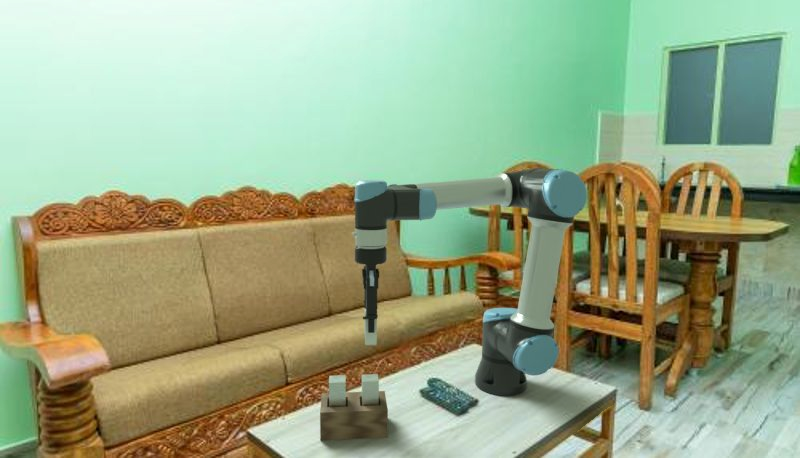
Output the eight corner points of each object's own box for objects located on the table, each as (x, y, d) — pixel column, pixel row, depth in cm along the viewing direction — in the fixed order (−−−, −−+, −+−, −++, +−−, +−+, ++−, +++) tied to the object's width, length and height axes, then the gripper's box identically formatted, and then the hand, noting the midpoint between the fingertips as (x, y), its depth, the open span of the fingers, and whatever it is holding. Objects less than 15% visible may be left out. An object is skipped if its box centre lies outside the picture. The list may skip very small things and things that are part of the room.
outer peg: (345, 398, 130) (345, 375, 129) (345, 406, 126) (345, 382, 125) (329, 399, 129) (329, 375, 129) (329, 407, 126) (328, 382, 125)
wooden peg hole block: (384, 416, 135) (384, 391, 134) (387, 437, 125) (387, 410, 124) (322, 418, 133) (321, 393, 132) (320, 440, 123) (320, 412, 122)
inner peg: (377, 397, 131) (377, 374, 130) (378, 405, 127) (378, 381, 126) (361, 398, 130) (361, 374, 129) (362, 405, 126) (362, 381, 125)
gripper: (354, 239, 132) (354, 327, 135) (355, 253, 113) (355, 354, 117) (383, 239, 132) (382, 326, 136) (389, 253, 114) (388, 354, 117)
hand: (370, 339), depth 126 cm, fingers open, 6 cm apart
